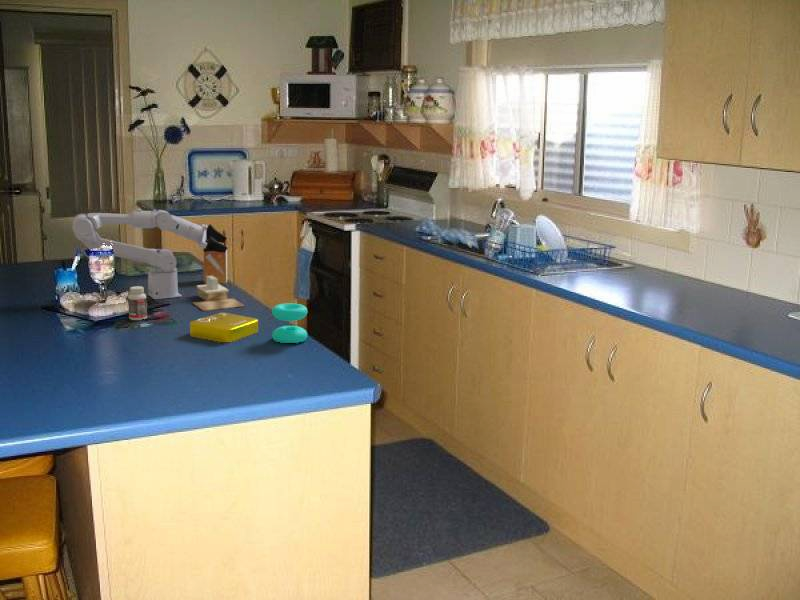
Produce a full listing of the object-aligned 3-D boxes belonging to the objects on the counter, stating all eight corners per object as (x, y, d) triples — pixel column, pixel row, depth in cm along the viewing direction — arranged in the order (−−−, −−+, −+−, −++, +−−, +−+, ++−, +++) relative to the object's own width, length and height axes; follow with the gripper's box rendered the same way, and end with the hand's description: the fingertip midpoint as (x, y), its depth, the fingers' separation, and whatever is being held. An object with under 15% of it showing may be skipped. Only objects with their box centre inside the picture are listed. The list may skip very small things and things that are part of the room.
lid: (206, 296, 280) (206, 281, 279) (196, 289, 289) (196, 275, 288) (228, 293, 284) (228, 279, 283) (218, 287, 293) (217, 273, 292)
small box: (204, 284, 307) (203, 248, 304) (205, 280, 313) (204, 245, 310) (226, 284, 308) (225, 248, 305) (227, 280, 314) (227, 245, 311)
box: (207, 302, 281) (207, 293, 280) (198, 295, 289) (197, 287, 289) (227, 300, 285) (227, 291, 284) (217, 293, 293) (217, 285, 292)
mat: (203, 311, 269) (203, 310, 269) (192, 303, 279) (192, 302, 278) (244, 306, 276) (244, 305, 276) (233, 299, 286) (233, 298, 285)
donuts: (296, 312, 232) (265, 308, 236) (296, 347, 235) (265, 342, 238) (313, 304, 241) (283, 300, 245) (313, 338, 244) (283, 333, 247)
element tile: (227, 345, 236) (227, 328, 235) (187, 336, 243) (186, 320, 242) (261, 333, 249) (260, 317, 248) (221, 325, 256) (221, 310, 255)
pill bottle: (140, 321, 256) (139, 290, 253) (125, 319, 257) (123, 288, 255) (150, 317, 261) (149, 286, 258) (135, 315, 262) (134, 284, 260)
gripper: (193, 229, 278) (231, 244, 283) (193, 211, 290) (230, 226, 296) (184, 246, 280) (222, 261, 286) (185, 228, 292) (221, 243, 298)
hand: (225, 245), depth 291 cm, fingers open, 7 cm apart
